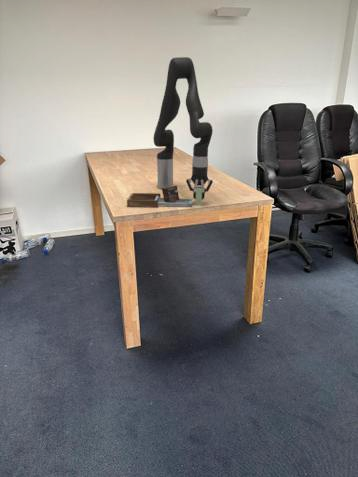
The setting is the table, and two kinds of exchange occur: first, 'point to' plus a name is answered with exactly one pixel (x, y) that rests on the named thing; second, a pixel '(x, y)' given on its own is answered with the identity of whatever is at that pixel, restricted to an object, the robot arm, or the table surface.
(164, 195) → the box
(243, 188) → the table surface
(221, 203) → the table surface
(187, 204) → the pull frame
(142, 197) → the dark brown tray
